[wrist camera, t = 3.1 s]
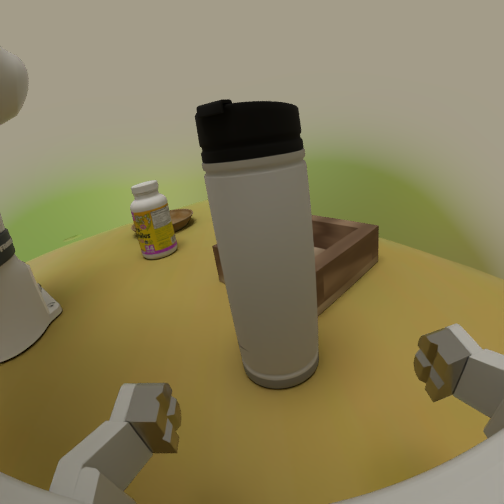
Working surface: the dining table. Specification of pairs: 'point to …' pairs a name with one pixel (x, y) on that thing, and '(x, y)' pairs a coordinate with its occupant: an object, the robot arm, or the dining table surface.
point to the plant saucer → (177, 218)
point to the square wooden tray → (336, 256)
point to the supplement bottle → (152, 221)
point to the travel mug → (263, 234)
